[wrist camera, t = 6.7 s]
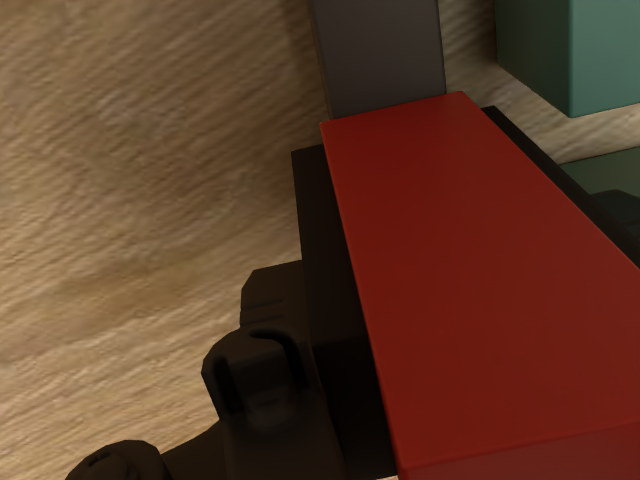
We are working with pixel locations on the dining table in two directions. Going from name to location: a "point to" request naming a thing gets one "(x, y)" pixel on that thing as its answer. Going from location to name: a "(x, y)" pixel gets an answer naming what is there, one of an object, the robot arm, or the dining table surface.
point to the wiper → (471, 269)
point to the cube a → (572, 51)
